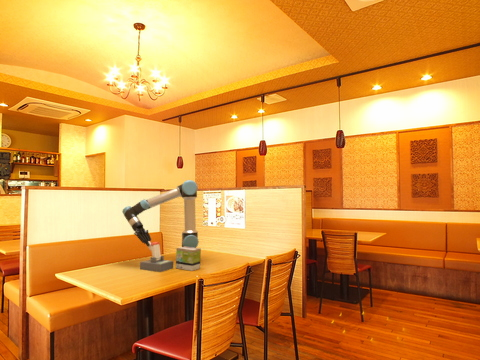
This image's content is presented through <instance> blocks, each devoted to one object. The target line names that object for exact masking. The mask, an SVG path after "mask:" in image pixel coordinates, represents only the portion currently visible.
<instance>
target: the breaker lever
mask: <svg viewBox="0 0 480 360" xmlns="http://www.w3.org/2000/svg"><path fill="white" fill-rule="evenodd" d="M151 249H152V251H151V256H152V257H154V258H156V261H159V260H161V258H160V257H161V256H162V255H161V247H160V241H153V242H151Z"/></svg>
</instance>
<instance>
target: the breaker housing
mask: <svg viewBox="0 0 480 360" xmlns="http://www.w3.org/2000/svg"><path fill="white" fill-rule="evenodd" d="M164 257H165V256H164V255H161V257H160V258H161V260H159V261H156V258H154V257H151V256H150V259H147V260H142V261H140V263H139V270H144V271H151V272H156V273H157V272H158V273H162V272H166V271H169V270H172V269H174V260H167V259H164Z"/></svg>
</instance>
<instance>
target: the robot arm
mask: <svg viewBox="0 0 480 360" xmlns="http://www.w3.org/2000/svg"><path fill="white" fill-rule="evenodd" d="M198 189H199V188H198V185H197V182H195V181H194V180H193V179H192V180H191V179H188V180H187V179H186V180H185V181H184V182H183V183H181V184H180V185H177V186H176V187H175V188H173V189H170V190H168V191H165V192H163V193H160V194H158V195H156V196H153V197H151V198H148V199H145V198H143V199H142V200H140V201H139V202H137V203H136V204H134V205H133V206H130V205H127V206H125V207H124V208H123V209H122V210H121V211H122V214H123V217H125V220H126V221H127V222H128V223H129V225H130V227H131V229H132V230H133V235H135V236H136V238H138V239H139V240H140V241H141V242H142V244H143V245H146V246H147V248H148V249H149V251H151V252H152V249H151V243H152V242H151V241H152V238H151V235H150V234H149V229H145V228H144V224H143V223H142V221H141V220H140V218H139V217H138V216H139V215H140V214H142V213H144V212H145V211H147V210H150V209H152V208H154V207H157V206H159V205H162V204H165V203H167V202H169V201H171V200H174V199H178V198H179V197H180V198H182V199H183V203H184V204H183V207H184V208H183V210H184V212H183V215H184V219H183V221H184V231H182V233H181V247H184V246H186V247H193V248H198V245H199V239H198V237H199V235H198V234H199V233H198V230H197V229H196V224H197V223H196V199H197V198H198Z"/></svg>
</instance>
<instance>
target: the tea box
mask: <svg viewBox="0 0 480 360" xmlns="http://www.w3.org/2000/svg"><path fill="white" fill-rule="evenodd" d="M201 251H202V248H200V247H196V248H193V247H186V246H184V247H182V246H181V247H176V251H175V253H176V254H175V255H176V256H175V269H179V270H186V271H190V272H193V271H197V270H200V269H201V256H202V255H201Z"/></svg>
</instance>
